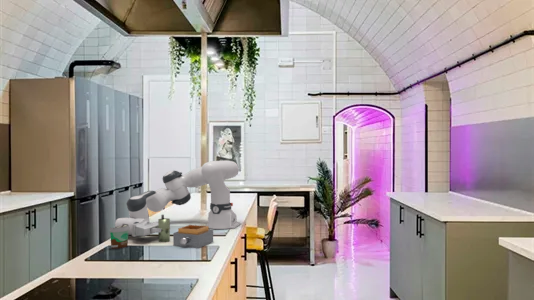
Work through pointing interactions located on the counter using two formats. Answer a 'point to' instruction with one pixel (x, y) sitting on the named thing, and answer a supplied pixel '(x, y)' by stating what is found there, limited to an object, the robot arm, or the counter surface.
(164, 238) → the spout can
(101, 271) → the counter surface
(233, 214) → the robot arm
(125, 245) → the food container
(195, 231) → the grey drawer box
